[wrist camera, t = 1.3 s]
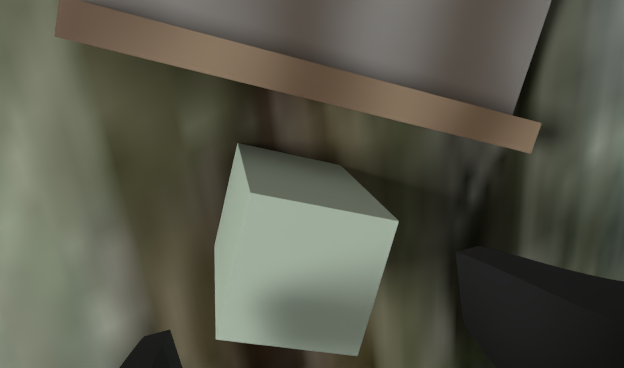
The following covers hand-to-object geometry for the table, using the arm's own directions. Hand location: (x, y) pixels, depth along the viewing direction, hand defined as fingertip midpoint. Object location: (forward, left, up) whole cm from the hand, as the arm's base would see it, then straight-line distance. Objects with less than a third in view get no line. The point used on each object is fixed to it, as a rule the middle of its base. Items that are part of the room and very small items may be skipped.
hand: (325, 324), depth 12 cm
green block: (0, 0, -10) cm, 10 cm away
